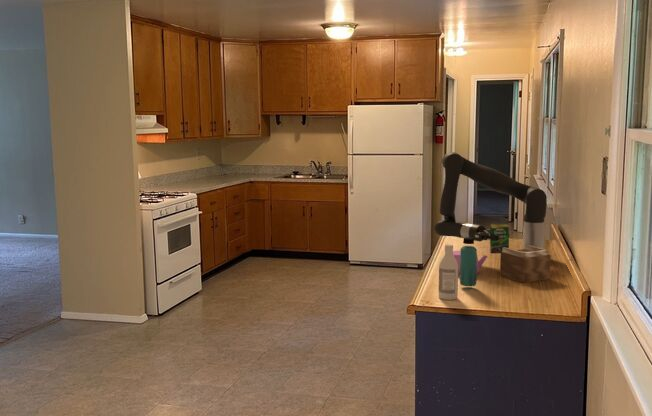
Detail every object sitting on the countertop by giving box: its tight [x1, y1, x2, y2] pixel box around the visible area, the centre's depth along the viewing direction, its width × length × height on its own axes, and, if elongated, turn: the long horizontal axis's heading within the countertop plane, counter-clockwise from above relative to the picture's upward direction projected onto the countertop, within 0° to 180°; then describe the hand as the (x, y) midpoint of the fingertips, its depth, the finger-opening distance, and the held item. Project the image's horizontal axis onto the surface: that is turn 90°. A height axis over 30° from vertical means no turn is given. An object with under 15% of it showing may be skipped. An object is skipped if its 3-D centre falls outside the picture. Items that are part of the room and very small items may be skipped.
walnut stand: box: [499, 245, 552, 284], centre depth 265 cm, size 14×14×12 cm
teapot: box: [453, 250, 488, 276], centre depth 274 cm, size 18×10×10 cm, turn 80°
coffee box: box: [489, 223, 510, 254], centre depth 281 cm, size 8×3×13 cm, turn 82°
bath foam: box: [438, 243, 459, 301], centre depth 234 cm, size 7×7×20 cm
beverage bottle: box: [459, 237, 478, 287], centre depth 248 cm, size 6×7×20 cm
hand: (503, 236), depth 279 cm, fingers closed on coffee box, 7 cm apart
